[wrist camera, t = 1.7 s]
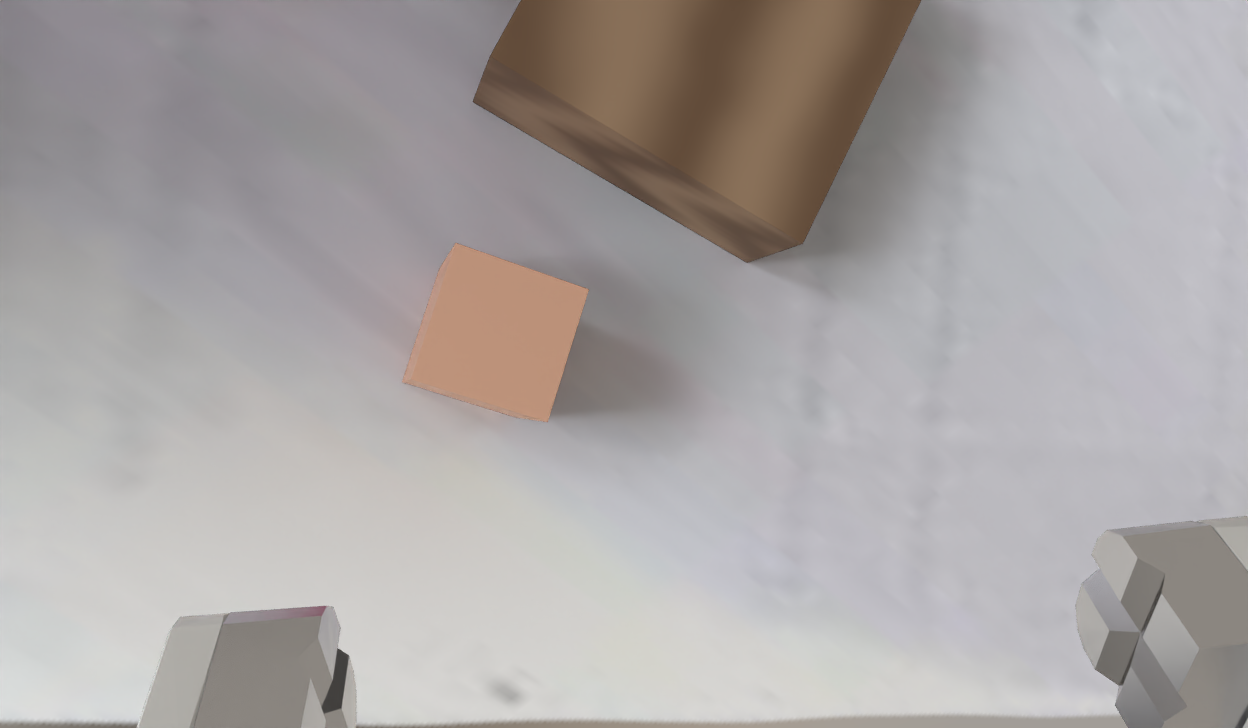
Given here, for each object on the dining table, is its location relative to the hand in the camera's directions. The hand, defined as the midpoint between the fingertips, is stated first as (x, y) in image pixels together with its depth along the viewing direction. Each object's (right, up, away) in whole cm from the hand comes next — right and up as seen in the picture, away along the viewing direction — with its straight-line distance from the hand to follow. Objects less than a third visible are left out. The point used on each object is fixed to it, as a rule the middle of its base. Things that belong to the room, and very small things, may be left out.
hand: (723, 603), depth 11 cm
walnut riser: (+2, +17, +35) cm, 39 cm away
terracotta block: (-7, +3, +32) cm, 33 cm away
